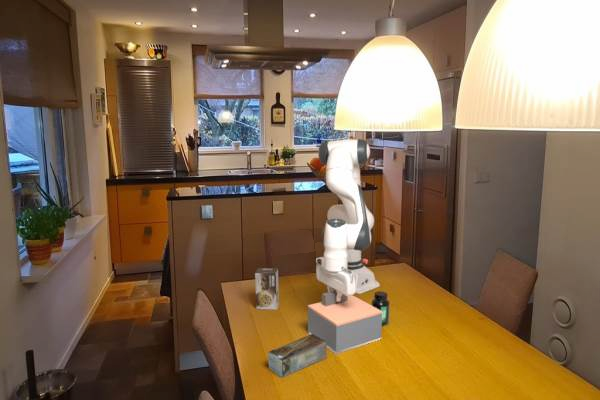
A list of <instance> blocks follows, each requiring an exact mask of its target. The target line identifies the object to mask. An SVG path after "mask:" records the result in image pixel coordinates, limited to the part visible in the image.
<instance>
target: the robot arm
mask: <svg viewBox="0 0 600 400" xmlns="http://www.w3.org/2000/svg"><path fill="white" fill-rule="evenodd" d="M370 155H371V148H370V146H369V142H368V141H367V140H365V139H361V138H358V139H354V138H349V139H348V138H347V139H346V138H345V139H343V138H342V139H337V140H331V141H330V140H328V141H327V140H326V141H324V142H321V143H320V145H319V147H318V153H317V156H318V159H319V162H320V163H321V164H322V165H324V166H325V185H326V187H327V189H328V190H329V191H331V192H332V194H335V195H337V197H338V198H339V199H340V201H341V202H342V204H341V203H340V204H333V205H332V206H330V208H329V209H328V210H327V213H326V214H327V215H326V216H327V220H326V223H325V226H324V227H323V228H322V229H321V244H322V246H323V247H324V252H323V256H320V257H316V259H315V263H316V266H315V268H316V269H315V271H316V274H315V276H316V279H317V281H319V282H321V283H322V284H324V285H326V288H327V292H333V291H337V296H335V300H336V301H338V302H339V301H341V296H342V294H344V295H346V296H351V295H353V296H354V295H355V294H358V295H359V294H360V295H362V294H364V293H366V292H369V291H371V290H374V289H376V288H379V287H380V286H381V285H380V283H379V281H377V280H376V278H375V273H374V272H373V270H371V269H369V268H368V267H366V266H365V264H366V265H367V264H368V263H369V260H368V259H366V258H363V257H362V252H363V251H366V249H368V248H369V247H370V246H371V243H372V233H371V230H372V229H373V227H374V225H375V217H374V214H373V213H372V212H371V211H370V210H369V208H368V207H367V205H366V203H365V198H364V192H363V189H362V184H361V183H362V181H361V170H360V166H362V165H364V164H365V163H367V161H369V159H370V158H369V157H370Z"/></svg>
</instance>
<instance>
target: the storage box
mask: <svg viewBox="0 0 600 400" xmlns="http://www.w3.org/2000/svg"><path fill="white" fill-rule="evenodd" d="M382 327H383V326H382V314H378V315H375V316H371V317H368V318H364V319H361V320H357V321H354V322H351V323H347V324H344V325H340V326H335V325H334V324H332V323H331V322H329V321H328V320H326V319H325V318H323V317H322V316H320V315H319V314H317V313H316V312H314V311H313V310H311V309H310V308H308V307H307V334H308V335H311V334H313V335H315V336H317V337H319V338H321V339H322V340H325V341H326V349H328V350H329V351H331V352H332V353H333V354H335V355H338V354H342V353H344V352H347V351H350V350H354V349H357V348H359V347H360V348H361V347H362V346H366V344H367V345H369V344H368V343H370V344H372V343H371V342H373V343H375V342H374V341H376V342H378V341H377V340H379V341H381V340H382V329H383V328H382ZM380 339H381V340H380Z"/></svg>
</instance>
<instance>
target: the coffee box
mask: <svg viewBox="0 0 600 400" xmlns="http://www.w3.org/2000/svg"><path fill="white" fill-rule="evenodd" d="M254 278H255V279H254V281H255V310H271V311H274V310H278V308H279V305H280V303H279V302H280V301H279V300H280V298H279V297H280V295H279V268H277V267H274V268H273V267H272V268H271V267H270V268H269V267H258V268H257V269H256V271H255V272H254Z"/></svg>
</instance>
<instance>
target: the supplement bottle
mask: <svg viewBox="0 0 600 400" xmlns="http://www.w3.org/2000/svg"><path fill="white" fill-rule="evenodd" d="M373 297H374V298H372V300H371V306H373V307H375V308H377V309H379V310H381V311H382V327H385V326H387V325H389V322H390V301H389V300H388V292H386V291H382V290H381V291H379V290H378V291H375V292H374V296H373ZM384 325H385V326H384Z"/></svg>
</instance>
